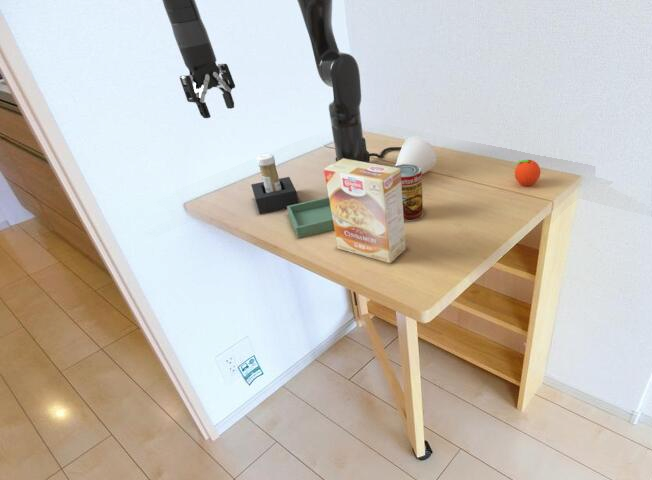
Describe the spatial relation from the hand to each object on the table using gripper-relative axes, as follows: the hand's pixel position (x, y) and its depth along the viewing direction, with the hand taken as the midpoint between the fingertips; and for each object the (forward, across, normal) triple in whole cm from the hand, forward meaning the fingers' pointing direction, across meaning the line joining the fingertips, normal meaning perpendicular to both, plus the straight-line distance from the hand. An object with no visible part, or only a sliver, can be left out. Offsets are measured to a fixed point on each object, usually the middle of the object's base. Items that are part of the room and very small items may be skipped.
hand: (219, 112), depth 116 cm
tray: (+25, -5, -30) cm, 40 cm away
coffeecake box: (+27, -13, -50) cm, 58 cm away
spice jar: (+24, -1, -11) cm, 27 cm away
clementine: (+29, +34, -73) cm, 85 cm away
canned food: (+27, +6, -50) cm, 57 cm away
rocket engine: (+27, +25, -39) cm, 53 cm away
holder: (+24, -1, -11) cm, 27 cm away
